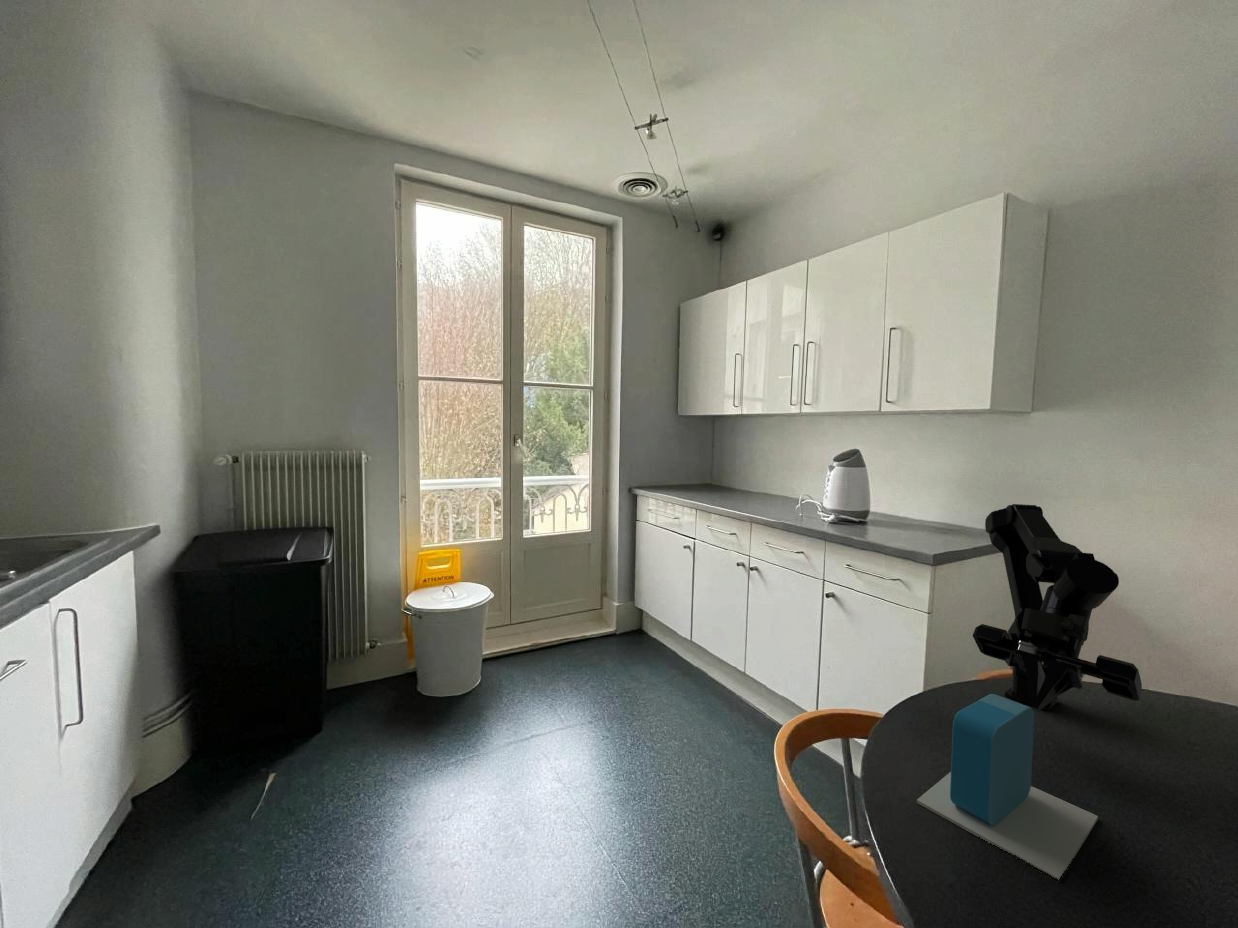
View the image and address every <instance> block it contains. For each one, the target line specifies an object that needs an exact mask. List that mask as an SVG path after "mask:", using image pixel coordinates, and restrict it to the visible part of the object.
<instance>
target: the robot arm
mask: <svg viewBox="0 0 1238 928" xmlns="http://www.w3.org/2000/svg"><path fill="white" fill-rule="evenodd" d="M984 527H985V531H986V533H987V534H988V536H989V539H990V543H991V545H993V547H995V549H997V550H998V551H999V552H1000V553H1001V554H1002V556H1003V562H1004V565H1005V571H1006V575H1007V581H1008V586H1009V591H1010V595H1011V601H1012V602H1011V603H1012V605H1013V611H1014V612H1013V613H1014V616H1015V618H1014V620H1013V622H1012V624H1011V625H1010V626H1009V628H1008V630H1007V629H1003V628H999V627H995V626H992V625H988V624H984V623H982V624H979V625H978V626H977V625H976V627H975V628H974V631H973V633H972V638H973V639H974V642H975V644H976V646H977V648H978V650H979V652H980V653H981V654H983V655H985V656H987V657H991V658H994V659H996V660H997V659H998V660H1000V661H1004V663H1006V665H1007V666H1008V667H1012V672H1011V673H1012V675H1011V687H1010V688H1009V689H1008V690H1006V691H1004V693H1003V696H1005V697H1008V698H1010V699H1013V700H1016V701H1019V702H1022V703H1023V704H1024V703H1025V704H1027V705H1030V708H1032V710H1033V711H1037V712H1040V711H1041V710H1045V711H1049V710H1051V709H1052V708H1053V707H1054V706H1055V705H1056V704H1057V703H1058V702H1059V700H1060V699H1059V698H1058V697H1059V696H1060V695H1063V694H1064V693H1066V692H1067V691H1069V690H1071V689H1073V688H1076V689H1078V690H1079V689H1080V690H1082V689H1083V686H1084V685H1083V682H1082V681H1083V677H1085V676H1089V677H1093V678H1096V679H1099V680H1102V682H1101V687H1103V688H1104V689H1105V691H1106V692H1107V693H1108V694H1112V695H1113V696H1117V697H1121V698H1125V699H1127V700H1131V701H1134V702H1135V701H1140V698H1141V695H1142V694H1141V693H1142V688H1143V685H1142V680H1141V679H1142V678H1141V675H1140V671H1139V668H1137V666H1136V664H1134V663H1132V662H1129V661H1125V660H1121V659H1117V658H1114V657H1109V656H1105V655H1102V654H1099V655H1098V656H1096V657H1097V658H1096V660H1095V662H1093V661H1088V660H1085V659H1082V658H1079V657H1080V653H1081V650H1082V647H1083V646H1084V644H1085V642H1086V641H1087V640H1088V636H1089V635H1088V634H1089V625H1090V619H1091V615H1092V612H1093V610H1094V609H1097V608H1098V607H1100V606H1101V605H1102V604H1103V603H1104V602H1105V600H1107V599H1108V598H1109V597H1110V595H1112V594H1113V592H1114V591H1116V589H1117V588H1118V587H1119V583H1120V579H1119V576H1118V574H1117V573H1115V571H1114V570H1113V569H1112V568H1111V567H1110V566H1108V565H1107V564H1106V563H1104V562H1101V561H1099V560H1097V559H1095V554H1093V552H1092V553H1090V552H1083V551H1081V550H1080V549H1079V548H1078V547H1077V546H1076V545H1074V544H1071V543H1068V542H1065V541H1062V540H1061V539H1060V537H1059V536H1058V535H1057V533H1056V532H1055V530H1054V528H1052V527H1053V526H1051V524H1050V523H1049V522H1048V521H1047V519H1046V517H1045V516H1044V511H1043V508H1042V507H1041V506H1037V505H1036V504H1019V503H1015V504H1014V503H1013V504H1008V505H1007V506H1005V507H1004V508H1001V509H996V510H993V511H991V512H990V513H989V514H988V515H986V518H985V522H984ZM1040 583H1047V584H1052V585H1050V586H1048V587H1047V589H1046V591H1045V594H1044V596H1042V591H1041V586H1040ZM1043 597H1044V598H1043Z"/></svg>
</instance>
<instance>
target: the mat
mask: <svg viewBox="0 0 1238 928" xmlns="http://www.w3.org/2000/svg"><path fill="white" fill-rule="evenodd" d="M950 783H951V771H950V772H948V773H947V774H946V775H944V776H943V778H941V779H940V780H939V781H938V782H936V783H935V784H934V785H933V786H932V787H930V788H929V789H927V791H926V792H924V793H923V794H921V796H920V797H918V798H917V799H916V804H918V805H920V806H922V807H924V808H925V809H927V810H929V811H930V812H932V813H934V814H936V815H938V816H940V818H943V819H944V820H946V821H949V822H951V823H953V824H954V825H956V826H957V827H960V828H961V829H963V830H965V831H967V832H968V833H970V834H972V835H974V836H975V837H977V838H979V837H980V838H979V839H981V840H982V839H983V841H984V840H985V841H984V842H986V841H987V842H986V843H988V844H990V843H991V844H992V845H991V844H990V845H991V846H993V845H995V846H997V847H999V848H1000V849H1003V850H1004V851H1007V852H1008V853H1011V854H1012V855H1016V856H1017V857H1019V858H1020V859H1023V860H1025V861H1026V862H1027V863H1030V864H1031V865H1033V866H1034V867H1036V868H1038V869H1040V870H1042V871H1044V872H1046V873H1048V874H1049V875H1051V876H1052V877H1054V878H1057V879H1058V880H1059V879H1060V877H1061V876H1062V874H1063V873H1064V871H1065V870H1066V869H1067V870H1068V868H1069V867H1070V865H1071V863H1072V862H1073V860H1074V859H1075V857H1076V856H1077V854H1078V852H1079V851H1080V849H1081V847H1082V845H1083V844H1084V843H1085V841H1086V840H1087V838H1088V836H1089V835H1090V833H1091V832H1092V830H1093V828H1094V827H1095V825H1096V824H1097V822H1098V820H1099V816H1098V815H1096V814H1094V813H1092V812H1089V811H1088V810H1085V809H1084V808H1083V809H1082V808H1080V807H1078V806H1077V805H1074V804H1072V803H1070V802H1067V801H1065V800H1064V799H1061V798H1058V797H1056V796H1054V795H1052V794H1050V793H1047V792H1045V791H1044V790H1041V789H1038V788H1036V787H1034V786H1032V785H1031V788H1030V792H1029V795H1028V796H1027V798H1026V799H1025V800H1023V801H1022V802H1021V803H1020V804H1019V805H1018V806H1017V807H1015V808H1014V809H1013V810H1012V811H1011V812H1010V813H1009V814H1007V815H1006V816H1005V817H1004V818H1003V819H1002V820H1001V821H999V822H998V823H997V824H996V825H991V824H989V823H987V822H985V821H984V820H982V819H980V818H978V817H976V816H975V815H973V814H971V813H969V812H967V811H966V810H964V809H962V808H960V807H959V806H957V805H955V804H953V803H952V801H951V798H950ZM995 846H994V847H995ZM997 847H996V848H997ZM999 848H998V849H999ZM1000 849H999V850H1000ZM1004 851H1003V852H1004ZM1008 853H1007V854H1008ZM1073 858H1074V859H1073ZM1072 859H1073V860H1072ZM1071 861H1072V862H1071ZM1069 864H1070V865H1069ZM1068 866H1069V867H1068ZM1067 867H1068V868H1067ZM1067 870H1066V871H1067ZM1064 874H1065V873H1064ZM1062 877H1063V876H1062Z"/></svg>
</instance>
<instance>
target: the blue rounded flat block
mask: <svg viewBox="0 0 1238 928" xmlns="http://www.w3.org/2000/svg"><path fill="white" fill-rule="evenodd" d="M1034 724H1035V713H1034V709H1032V707H1031V706H1028V705H1025V704H1022V703H1020V702H1017V701H1014V700H1011V699H1009V698H1006V697H1003V696H1000V695H998V694H996V693H995V694H994V693H990V694H988V695H986V696H984V697H982V698H980V699H979V700H976V701H975V702H973V703H972V704H970V705H967V706H966V707H964V708H962V709H960V710H958V711H957V713H956V714H955V716H954V718H953V722H952V736H951V737H952V738H951V761H950V763H951V764H950V772H951V783H950V798H951V801H952V803H953V804H955V805H957V806H959V807H960V808H962V809H964V810H966V811H967V812H969V813H971V814H973V815H975V816H976V817H978V818H980V819H982V820H984V821H985V822H987V823H989V824H991V825H996V824H997V823H998V822H999V821H1001V820H1002V819H1003V818H1004V817H1005V816H1006V815H1007V814H1009V813H1010V812H1011V811H1012V810H1013V809H1014V808H1015V807H1017V806H1018V805H1019V804H1020V803H1021V802H1022V801H1023V800H1025V799H1026V798H1027V796H1028V795H1029V792H1030V788H1031V786H1032V777H1033V776H1032V770H1033V751H1034V750H1033V747H1034V731H1035V730H1034V728H1035V727H1034V726H1035V725H1034Z"/></svg>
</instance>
